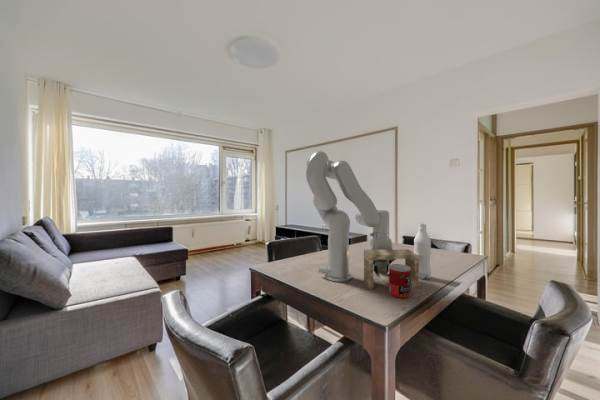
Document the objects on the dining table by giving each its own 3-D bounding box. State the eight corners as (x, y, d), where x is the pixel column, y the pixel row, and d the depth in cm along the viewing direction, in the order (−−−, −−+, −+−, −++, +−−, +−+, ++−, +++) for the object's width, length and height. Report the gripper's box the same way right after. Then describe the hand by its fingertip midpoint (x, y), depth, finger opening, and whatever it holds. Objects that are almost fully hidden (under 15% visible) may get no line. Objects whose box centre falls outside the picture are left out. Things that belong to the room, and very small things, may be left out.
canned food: (402, 300, 90) (402, 271, 90) (384, 293, 97) (384, 265, 97) (415, 296, 94) (415, 267, 94) (397, 289, 101) (397, 262, 101)
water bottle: (433, 280, 111) (433, 225, 110) (416, 279, 112) (416, 224, 111) (428, 275, 118) (428, 223, 117) (412, 274, 119) (412, 222, 119)
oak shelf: (369, 288, 102) (369, 255, 101) (364, 280, 112) (363, 249, 111) (418, 288, 101) (418, 255, 101) (408, 280, 111) (408, 249, 111)
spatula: (388, 288, 101) (388, 272, 101) (375, 273, 121) (375, 259, 121) (398, 289, 101) (398, 272, 101) (384, 273, 121) (384, 259, 121)
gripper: (365, 237, 115) (365, 275, 116) (401, 237, 115) (401, 276, 115) (361, 234, 123) (362, 270, 123) (395, 234, 122) (396, 271, 122)
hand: (381, 272), depth 119 cm, fingers closed on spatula, 4 cm apart
